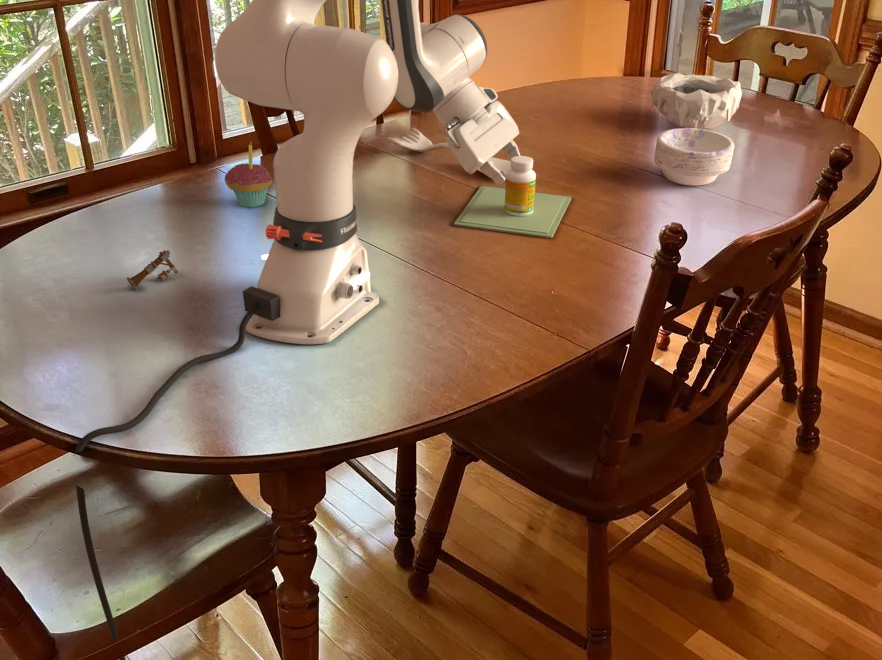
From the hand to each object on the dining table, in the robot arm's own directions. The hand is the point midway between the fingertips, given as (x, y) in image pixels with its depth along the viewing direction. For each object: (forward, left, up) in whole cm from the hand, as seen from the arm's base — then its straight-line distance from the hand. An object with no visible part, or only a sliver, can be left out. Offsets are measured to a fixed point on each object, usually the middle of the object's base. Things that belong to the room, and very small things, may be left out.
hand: (512, 174), depth 167 cm
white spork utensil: (+23, +16, -7) cm, 29 cm away
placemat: (+1, -1, -7) cm, 7 cm away
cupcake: (-11, +47, -7) cm, 49 cm away
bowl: (+66, -29, -8) cm, 72 cm away
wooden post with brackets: (-46, +47, -7) cm, 66 cm away
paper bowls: (+30, -31, -7) cm, 43 cm away
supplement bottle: (0, -2, -7) cm, 7 cm away
